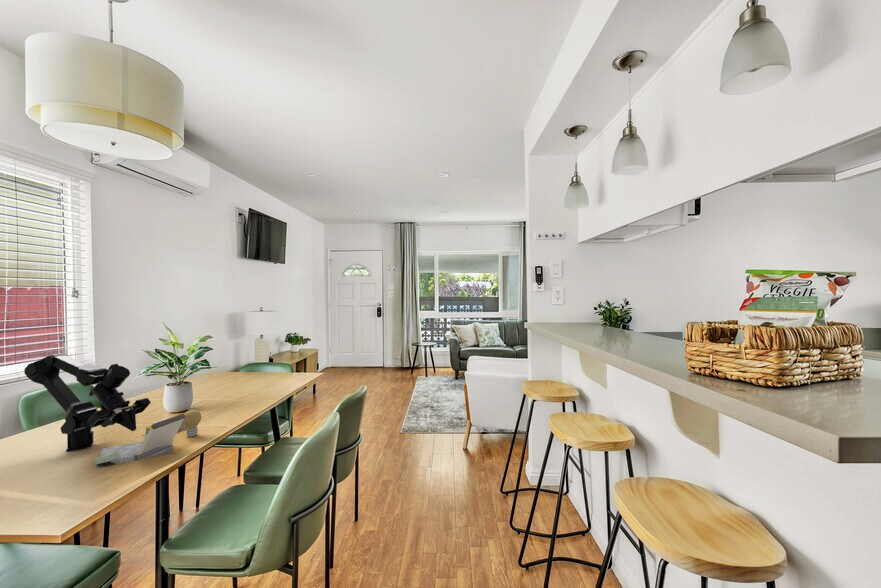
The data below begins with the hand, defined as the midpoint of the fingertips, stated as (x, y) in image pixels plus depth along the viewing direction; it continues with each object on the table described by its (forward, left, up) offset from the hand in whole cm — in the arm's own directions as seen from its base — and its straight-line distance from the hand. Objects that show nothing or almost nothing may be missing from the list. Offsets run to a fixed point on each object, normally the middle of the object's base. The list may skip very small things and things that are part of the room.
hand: (134, 430), depth 140 cm
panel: (+1, -2, -8) cm, 8 cm away
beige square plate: (+6, -7, -5) cm, 10 cm away
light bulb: (+18, +7, -8) cm, 21 cm away
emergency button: (+10, +21, -9) cm, 25 cm away
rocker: (-6, -9, -7) cm, 13 cm away
